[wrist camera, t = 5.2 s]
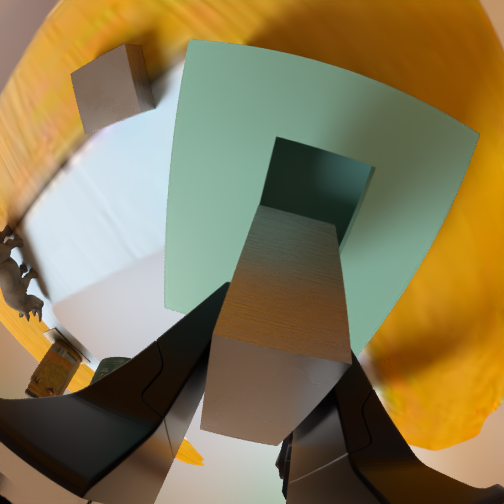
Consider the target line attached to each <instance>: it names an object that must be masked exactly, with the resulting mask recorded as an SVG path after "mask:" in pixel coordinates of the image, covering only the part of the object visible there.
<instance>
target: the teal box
mask: <svg viewBox="0 0 504 504" xmlns="http://www.w3.org/2000/svg"><path fill="white" fill-rule="evenodd" d="M479 136H480V134H479V133H477V132H476V131H474V130H473V129H471V128H470V127H468V126H466V125H465V124H463V123H461V122H460V121H458V120H456V119H455V118H453V117H451V116H450V115H448V114H446V113H444V112H442V111H441V110H439V109H437V108H435V107H433V106H431V105H429V104H427V103H425V102H423V101H421V100H419V99H417V98H415V97H413V96H411V95H409V94H407V93H405V92H402V91H400V90H398V89H396V88H393V87H391V86H389V85H386V84H384V83H381V82H379V81H376V80H374V79H371V78H369V77H366V76H363V75H360V74H358V73H355V72H352V71H349V70H346V69H343V68H340V67H337V66H334V65H330V64H327V63H324V62H320V61H317V60H313V59H309V58H305V57H302V56H297V55H293V54H289V53H284V52H280V51H275V50H270V49H265V48H259V47H253V46H247V45H240V44H233V43H225V42H215V41H204V40H189V44H188V49H187V54H186V59H185V64H184V70H183V75H182V81H181V87H180V93H179V100H178V106H177V113H176V121H175V128H174V136H173V145H172V154H171V164H170V175H169V186H168V200H167V216H166V237H165V276H164V278H165V280H164V281H165V282H164V283H165V284H164V289H165V290H164V291H165V292H164V299H165V300H164V303H165V308H168V309H171V310H174V311H177V312H180V313H183V314H186V315H187V314H188V313H189V312H190V311H192V310H193V309H194V308H195V307H196V306H198V305H199V304H200V303H201V302H202V301H204V300H205V299H206V298H207V297H208V296H210V295H211V294H212V293H213V292H214V291H216V290H217V289H218V288H219V287H220V286H222V285H223V284H224V283H225V282H231V280H232V277H233V274H234V271H235V269H236V266H237V263H238V260H239V257H240V255H241V252H242V249H243V246H244V243H245V241H246V238H247V235H248V232H249V229H250V227H251V224H252V221H253V218H254V216H255V213H256V210H257V207H258V205H262V206H266V207H270V208H274V209H278V210H282V211H286V212H289V213H293V214H297V215H301V216H305V217H308V218H312V219H316V220H319V221H323V222H326V223H330V224H334V225H335V229H336V234H337V240H338V246H339V253H340V259H341V266H342V273H343V280H344V288H345V296H346V304H347V313H348V323H349V333H350V345H351V349H352V351H353V352H354V354H355V356H358V355H359V353H360V352H361V351H362V350H363V348H364V347H365V346H366V344H367V343H368V342H369V340H370V339H371V338H372V336H373V335H374V334H375V332H376V331H377V330H378V328H379V327H380V326H381V324H382V323H383V321H384V320H385V319H386V317H387V316H388V314H389V313H390V311H391V310H392V308H393V307H394V305H395V304H396V302H397V301H398V299H399V298H400V296H401V295H402V293H403V292H404V290H405V289H406V287H407V286H408V284H409V282H410V281H411V279H412V277H413V276H414V274H415V273H416V271H417V269H418V268H419V266H420V264H421V262H422V261H423V259H424V257H425V255H426V254H427V252H428V250H429V248H430V247H431V245H432V243H433V241H434V239H435V237H436V235H437V233H438V232H439V230H440V228H441V226H442V224H443V222H444V220H445V218H446V216H447V214H448V212H449V210H450V207H451V205H452V203H453V201H454V199H455V197H456V194H457V192H458V190H459V188H460V185H461V183H462V181H463V178H464V176H465V173H466V171H467V168H468V166H469V163H470V161H471V158H472V155H473V153H474V150H475V147H476V144H477V141H478V139H479Z"/></svg>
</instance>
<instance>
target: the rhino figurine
mask: <svg viewBox="0 0 504 504" xmlns="http://www.w3.org/2000/svg"><path fill="white" fill-rule="evenodd" d="M11 235H12V232H11V230H10V229H9V227H8V226H6V227H5V229H4V230H3V231H2V232H0V287H1V290H2V293H3V297H4V300H5V302H6V303H7V305H8V306H10V307H11V308H13V309H15V310H17V311H19V312H20V313H19V317H23V315H25V316H26V318H27V320H28V322H29V318H30V315H29V314H28V313H29V312H30V311H32V313H33V315H34V316H35V314H36V312H37V313H38V316H39V322H41V319H42V307H43V305H44V302H43V301H42V300H41V299H39V298H37V297H36V296H34V295H27V293H26V292H27V288H28V286H29V282H30V280H31V279H32V278H38V275H37V273H36V272H35V271H34V270H33V269H30V271H29V273H27V274H26V275H25V276H24V277H23V278H22V277H21V276H22V275H23V273H26V272H27V271H28V270H27V268H26V267H25V266H24V265H22V264H21V265H20V268H19V266H18V264H17V263H16V262H15V260H13V259H12V258H11V257H10V254H11V250H12V249H13V248H15V247H20V248H21V247H23V241H22V239H20V237H19V236H15V238H14V239H13V240H12V239H8V240H7V241H6V242H5V244H4V243H3V242H4V239H5V237H6V236H7V237H10V236H11Z"/></svg>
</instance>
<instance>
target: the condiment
mask: <svg viewBox="0 0 504 504" xmlns="http://www.w3.org/2000/svg"><path fill="white" fill-rule="evenodd" d="M42 334H43V335H44V336H45V337H46V338H47V339H48V340H49V342H51V343H52V346H51V347H50V349H49V350H48V352H47V353H46V355H45V356H44V358H43V359H42V361H41V362H40V364H39V365H38V367H37V369H36V370H35V372H34V373H33V375H32V376H31V382H30V384H29V385H28V388H27V389H26V391H25V393H26V395H27V396H28V397H29V398H39V397H50V396H60V395H63V393H64V391H65V389H66V388H67V386H68V384H69V383H70V381H71V379H72V377H73V376H74V374H75V373H76V371H77V369H78V368H79V365H80V364H89V363H90V362H89V361H88V360H87V359H86V358H85V357H84V356H83V355H81V354H80V352H79V351H78V350H76V349H75V348H74V347H73V346H72V345H70V344H69V343H68V341H67V340H65V338H64V337H63V336H62V335H60V334H59V333H58V332H57V331H56V330H55V329H51V330H49V331H47V332H44V333H42ZM65 341H66V342H65Z"/></svg>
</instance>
